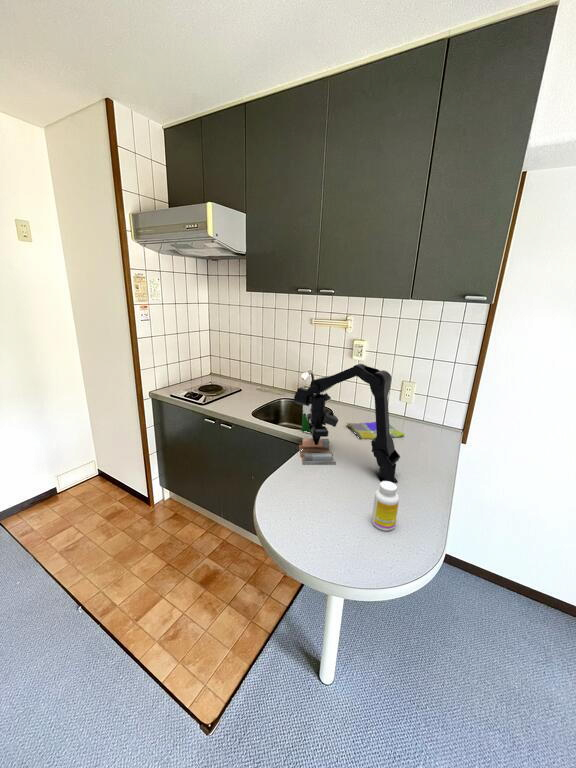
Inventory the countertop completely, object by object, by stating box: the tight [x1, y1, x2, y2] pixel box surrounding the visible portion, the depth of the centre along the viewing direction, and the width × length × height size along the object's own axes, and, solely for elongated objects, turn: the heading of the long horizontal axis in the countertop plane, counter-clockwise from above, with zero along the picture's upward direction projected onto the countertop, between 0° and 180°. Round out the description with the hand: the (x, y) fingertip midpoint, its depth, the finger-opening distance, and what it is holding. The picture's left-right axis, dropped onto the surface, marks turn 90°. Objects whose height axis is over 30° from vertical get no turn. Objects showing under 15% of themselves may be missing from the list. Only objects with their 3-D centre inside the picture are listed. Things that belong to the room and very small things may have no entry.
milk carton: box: [301, 393, 315, 433], centre depth 152 cm, size 9×9×20 cm
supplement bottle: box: [371, 481, 400, 532], centre depth 91 cm, size 7×7×13 cm
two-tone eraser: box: [301, 438, 330, 448], centre depth 132 cm, size 11×2×2 cm, turn 94°
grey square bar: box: [304, 453, 334, 461], centre depth 125 cm, size 11×2×2 cm, turn 94°
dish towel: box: [345, 421, 405, 440], centre depth 157 cm, size 18×24×3 cm
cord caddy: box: [298, 444, 337, 466], centre depth 129 cm, size 15×13×2 cm
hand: (315, 443), depth 132 cm, fingers closed on two-tone eraser, 2 cm apart
